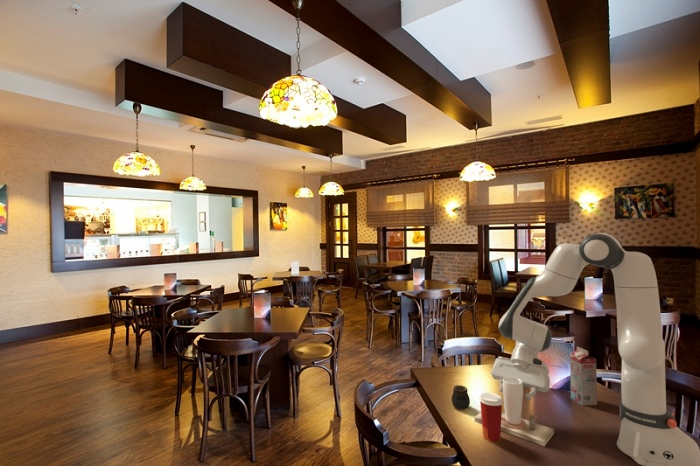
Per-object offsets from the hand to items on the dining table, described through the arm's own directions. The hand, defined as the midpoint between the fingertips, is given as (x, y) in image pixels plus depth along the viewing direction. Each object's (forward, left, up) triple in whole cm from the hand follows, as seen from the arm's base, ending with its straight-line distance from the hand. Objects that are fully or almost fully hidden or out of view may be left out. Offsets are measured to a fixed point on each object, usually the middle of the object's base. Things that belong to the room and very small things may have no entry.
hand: (514, 395), depth 131 cm
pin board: (0, +2, -11) cm, 11 cm away
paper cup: (+3, +14, -11) cm, 18 cm away
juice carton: (-14, -39, -11) cm, 43 cm away
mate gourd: (+21, +1, -11) cm, 24 cm away
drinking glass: (0, +2, -9) cm, 9 cm away
